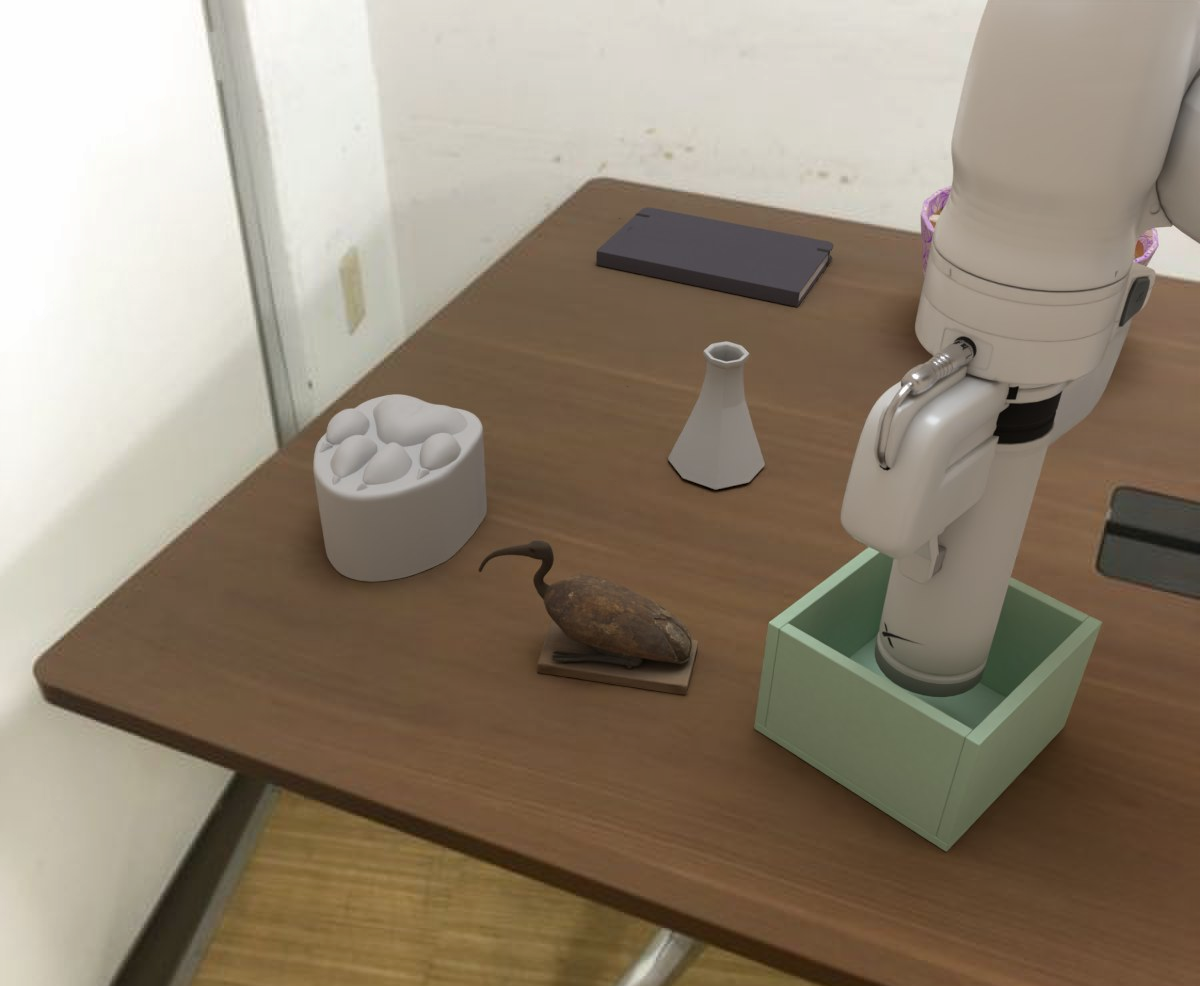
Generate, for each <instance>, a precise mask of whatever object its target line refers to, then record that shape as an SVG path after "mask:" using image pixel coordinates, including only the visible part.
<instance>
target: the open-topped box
mask: <svg viewBox="0 0 1200 986" xmlns="http://www.w3.org/2000/svg"><path fill="white" fill-rule="evenodd" d="M893 560H894V558H891V557H889V556H887V555H885V554H882V553H880V552H878V551H876V550H874V549H872V548H870V547H868V546H867V548H865V549H864V550H863V551H861V552H860V553H859V554H857V555H856V556H855V557H853V558H852V559H851V560H849V561H848V562H847V563H845V564H844V565H843V566H841V567H840V568H839V569H838V570H836V571H835V572H834V573H832V574H831V575H830V576H828V577H827V578H826V579H824V580H823V581H822V582H821V583H819V584H817V585H816V586H815V587H814V588H813V589H811V590H810V591H808V592H807V593H805V594H804V595H803V596H802V597H800V598H799V599H798V600H796V601H795V602H794V603H793V604H791V605H790V606H788V607H787V608H786V609H785V610H783V611H782V612H780V613H779V614H778V615H776V616H775V617H774V618H772V619H771V620H770V621H769V622H768V624H767V632H766V638H765V645H764V653H763V661H762V667H761V675H760V682H759V690H758V697H757V704H756V712H755V718H754V725H753V728H754V730H756V731H757V732H759V733H760V734H762V735H763V736H765V737H766V738H768V739H770V740H771V741H773V742H774V743H776V744H778V745H779V746H781V747H782V748H784V749H785V750H787V751H788V752H790V753H792V754H793V755H795V756H796V757H798V758H799V759H801V760H802V761H804V762H806V763H807V764H808V765H810V766H812V767H813V768H815V769H816V770H818V771H819V772H820V773H822V774H824V775H826V776H827V777H829V778H830V779H832V780H834V781H835V782H836V783H838V784H839V785H841V786H843V787H845V788H846V789H847V790H849V791H851V792H852V793H854V794H855V795H857V796H858V797H860V798H862V799H863V800H864V801H866V802H868V803H869V804H871V805H873V806H874V807H876V808H877V809H878V810H880V811H881V812H883V813H885V814H886V815H888V816H889V817H891V818H893V819H894V820H896V821H897V822H899V823H900V824H902V825H903V826H905V827H907V828H908V829H910V830H911V831H912V832H915V833H916V834H917V835H919V836H921V837H922V838H924V839H925V840H926V841H928V842H929V843H932V844H933V845H935V846H936V847H938V848H939V849H940V850H943V851H944V852H948V851H949V850H950V849H951V848H952V847H953V845H955V844H956V842H958V840H959V839H960V838H961V837H962V836H963V835H964V834H965V833H966V832H967V831H968V830H969V829H970V828H971V827H972V825H974V824H975V822H976V821H977V820H978V819H979V818H980V817H981V816H982V815H983V814H984V813H985V812H986V811H987V810H988V809H989V807H990V806H992V804H993V803H994V802H995V801H996V800H997V799H998V798H999V797H1000V796H1001V795H1002V794H1003V793H1004V792H1005V790H1007V788H1008V787H1009V786H1010V785H1011V784H1013V782H1014V781H1015V780H1016V779H1017V778H1018V777H1019V776H1020V775H1021V773H1022V772H1024V771H1025V769H1026V768H1027V767H1028V766H1029V765H1030V764H1031V763H1032V762H1033V761H1034V760H1035V759H1036V758H1037V756H1039V754H1040V753H1041V752H1043V750H1044V749H1046V747H1047V746H1048V745H1049V744H1050V743H1051V742H1052V740H1053V739H1054V738H1055V737H1057V735H1058V734H1059V733H1060V732H1061V731H1062V730H1063V729H1064V728H1065V725H1066V724H1067V720H1068V718H1069V716H1070V712H1071V710H1072V707H1073V704H1074V701H1075V698H1076V695H1077V693H1078V690H1079V687H1080V684H1081V682H1082V679H1083V676H1084V673H1085V671H1086V668H1087V665H1088V663H1089V661H1090V657H1091V655H1092V653H1093V649H1094V646H1095V644H1096V641H1097V638H1098V635H1099V633H1100V630H1101V627H1102V624H1103V621H1101V620H1099V619H1097V618H1095V617H1093V616H1090V615H1088V614H1087V613H1085V612H1082V611H1080V610H1079V609H1077V608H1074V607H1072V606H1070V605H1069V604H1066V603H1064V602H1062V601H1060V600H1058V599H1056V598H1054V597H1052V596H1050V595H1048V594H1046V593H1044V592H1042V591H1040V590H1038V589H1036V588H1034V587H1032V586H1030V585H1028V584H1027V583H1024V582H1022V581H1020V580H1018V579H1015V578H1014V577H1012V576H1011V578H1010V581H1009V585H1008V588H1007V592H1006V595H1005V599H1004V602H1003V606H1002V609H1001V613H1000V616H999V620H998V623H997V627H996V630H995V634H994V637H993V641H992V644H991V648H990V651H989V655H988V658H987V662H986V665H985V669H984V672H983V676H982V679H981V680H980V682H979V683H978V684H977V685H976V686H975V687H974V688H972V689H971V690H969V691H967V692H965V693H963V694H960V695H956V696H950V697H931V696H924V695H920V694H917V693H913V692H911V691H908V690H906V689H903V688H901V687H900V686H898V685H896V684H895V683H893V682H892V681H891V680H890V679H888V678H887V677H886V676H885V675H884V673H883V672H882V671H881V670H880V668H879V666H878V664H877V662H876V659H875V646H876V641H877V636H878V632H879V627H880V622H881V617H882V612H883V608H884V603H885V598H886V593H887V588H888V584H889V579H890V574H891V569H892V565H893Z"/></svg>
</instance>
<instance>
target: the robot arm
mask: <svg viewBox="0 0 1200 986" xmlns="http://www.w3.org/2000/svg"><path fill="white" fill-rule="evenodd" d="M950 145H951V146H950V147H951V150H950V151H951V163H952V182H951V185H950V186H951V191H950V195H949V198H948V200H947V203H946V204H945V206H944V208H943V210H942V212H941V214H940V216H939V218H938V220H937V222H936V225H935V228H934V232H933V237H932V241H931V246H930V252H929V257H928V262H927V267H926V272H925V278H924V277H923V283H922V288H921V293H920V298H919V302H918V307H917V313H916V318H915V324H914V331H915V335H916V338H917V340H918V341H919V343H920V345H921V346H922V347H923V348H924V349H925V350H926V352H928V353H929V354H930V355H931V356H932V357H931V358H929V360H927V361H926V362H924V363H920V364H918V365H915V366H914V367H912V368H911V369H910V370H908V371H907V372H906V373H905V374H904V376H903V377H902V378H901V380H900V381H899V382H897V383H895V384H894V385H892V386H890V387H889V388H888V389H887V390H886V391H884V392H883V394H881V396H879V397H878V399H877V400H876V402H875V403H874V404H873V406H872V407H871V410H870V411H869V413H868V416H867V417H866V420H865V422H864V425H863V428H862V431H861V433H860V436H859V439H858V441H857V446H856V449H855V453H854V456H853V459H852V463H851V468H850V471H849V475H848V479H847V482H846V487H845V492H844V495H843V500H842V504H841V507H840V508H841V509H840V514H839V515H840V517H839V518H840V524H841V525H842V528H843V529H844V531H845V532H846V534H848V536H849V537H850V538H852V539H854V540H855V541H857V542H859V543H861V544H863V545H865V546H867V548H868V547H870V548H872V549H874V550H876V551H878V552H880V553H882V554H885V555H887V556H889V557H891V558H894V559H898V560H899V562H898V570H899V572H900V573H901V574H902V575H903V576H905V577H907V578H909V579H911V580H913V581H915V582H917V583H919V584H924V583H926V582H927V581H928V580H929V579H930V578H932V577H933V576H934V575H935V574H936V573H938V572H939V571H940V570H941V568H942V561H943V559H944V557H945V553H946V549H947V548H946V547H944V546H942V545H939V544H938V539H937V537H938V535H940V534H941V533H943V531H944V529H945V527H947V526H948V525H949V524H950V523H952V522H953V521H954V520H955V519H957V518H958V517H959V516H961V515H962V514H963V513H964V512H966V511H967V510H968V509H969V508H971V507H972V506H973V505H975V504H976V503H977V502H978V501H979V500H980V499H981V497H982V495H983V494H984V492H985V488H986V484H987V480H988V476H989V472H990V468H991V464H992V460H993V458H994V456H995V454H996V452H995V448H996V444H998V443H997V442H998V439H999V436H993V433H994V431H995V430H996V426H997V425H996V422H997V419H998V416H999V413H1000V412H1001V411H1003V410H1004V409H1006V408H1007V407H1008V406H1009V404H1010V403H1019V404H1021V403H1031V402H1039V401H1042V400H1045V399H1048V398H1051V397H1053V396H1055V395H1057V394H1058V393H1060V392H1061V391H1062V390H1063V391H1062V394H1061V398H1060V401H1059V405H1058V408H1057V410H1056V415H1055V419H1054V427H1053V430H1052V434H1051V436H1050V441H1049V444H1048V447H1050V446H1051V445H1052V444H1054V443H1055V442H1056V441H1058V440H1059V439H1060V438H1062V437H1063V436H1064V435H1065V434H1066V433H1068V432H1069V431H1071V429H1073V428H1075V426H1077V425H1078V424H1079V423H1081V422H1082V421H1083V420H1085V419H1086V418H1087V417H1088V416H1089V415H1090V414H1091V413H1092V411H1093V410H1094V408H1095V407H1096V405H1098V403H1099V401H1100V399H1101V398H1102V396H1103V395H1104V392H1105V391H1106V388H1107V387H1108V384H1109V382H1110V379H1111V377H1112V374H1113V372H1114V370H1115V367H1116V365H1117V362H1118V359H1119V357H1120V355H1121V352H1122V349H1123V346H1124V344H1125V341H1126V339H1127V336H1128V334H1129V330H1130V327H1131V324H1132V320H1133V317H1134V316H1136V315H1137V314H1138V313H1140V312H1141V311H1142V310H1143V309H1144V308H1145V307H1146V305H1147V303H1148V302H1149V299H1150V297H1151V294H1152V291H1153V287H1154V284H1155V281H1156V273H1157V272H1156V271H1155V269H1153V268H1151V267H1149V266H1144V265H1141V264H1139V263H1136V262H1134V261H1133V260H1134V255H1135V247H1136V244H1137V241H1138V239H1139V238H1140V236H1141V235H1142V234H1143V233H1144V232H1146V231H1147V230H1149V229H1152V228H1155V229H1156V228H1172V227H1175V228H1176V229H1177V230H1178V231H1180V233H1183V234H1184V235H1186V236H1187V237H1189V238H1190V239H1191V240H1193V241H1194V242H1196V243H1198V244H1199V245H1200V0H987V1H986V5H985V7H984V10H983V13H982V16H981V18H980V22H979V24H978V28H977V32H976V35H975V38H974V41H973V45H972V49H971V52H970V56H969V60H968V63H967V67H966V72H965V76H964V80H963V85H962V88H961V94H960V97H959V103H958V107H957V112H956V116H955V121H954V126H953V132H952V137H951V144H950ZM1016 386H1019V389H1018V393H1017V397H1016V400H1007V399H1006V398H1007V395H1008V393H1009V387H1016Z"/></svg>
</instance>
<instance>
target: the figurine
mask: <svg viewBox="0 0 1200 986" xmlns="http://www.w3.org/2000/svg"><path fill="white" fill-rule="evenodd" d="M502 556H519V557H521V556H522V557H528V558H531V559H534V560H540V561H541V565H540V566H539V568H538V569H537V571H536V572H535V573H534V575H533V578H532V580H533V585H534V588H535V590H536V592H537V594H538V595H539V597H540V598H541V599H542V601H543V605H544V607H545V611H546V612H547V614H548V616H549V618H551V621H550V624H549V627H548V630H547V632H546V635H545V639H544V642H543V645H542V648H541V651H540V654H539V656H538V657H539V658H538V661H537V673H539V674H544V675H552V676H559V677H566V678H573V679H578V680H585V681H592V682H598V683H603V684H604V683H605V684H610V685H617V686H623V687H628V688H629V687H631V688H636V689H643V690H648V691H649V690H650V691H656V692H661V693H662V692H663V693H668V694H669V693H670V694H676V695H683V696H685V695H687V692H688V688H689V684H690V679H691V677H692V671H693V668H694V664H695V661H696V660H695V659H696V657H697V652H698V647H699V646H698V645H699V641H698V640H696V639H692V635H691V632H690V629H688V627H687V625H686V624H685V623H684V622H683V621H682V620H681V619H679V618H678V617H677V616H675V614H673V613H672V612H670V611H669V610H667V609H666V608H665V607H664V606H662V605H660V604H659V603H657V602H655V601H653V600H652V599H649V598H648V597H646V596H644V595H641V594H639V593H638V592H636V591H633V590H632V589H630V588H628V587H625V586H624V585H622V584H620V583H617V582H615V581H612V580H610V579H607V578H604V577H601V576H598V575H595V574H590V573H585V572H583V573H582V572H580V573H579V572H578V573H574V574H572V575H569V576H567V577H564V578H563V579H560V580H558V581H556V582H553V583H551V584H548V583H546V582H545V581H544V578H545V576H546V575H547V574H548V573H549V572H550V571H551V569H552V567H553V564H554V559H555V557H554V551H553V548H552V546H551V544H550V543H549V542H547V541H544V540H532V541H531V542H529V543H526V544H518V545H511V546H507V547H503V548H499V549H496V550H495V551H492V552H490V553H489V554H488V555H486V557H485V558H484V559H483V560H482V562H481V563H480V565H479V567H478V569H477V570H478V572H479V573H481V572H482V571H483V570H484V568H485V566H486V564H487V563H488V562H489V561H490V560H493V559H494V558H498V557H502Z"/></svg>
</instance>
